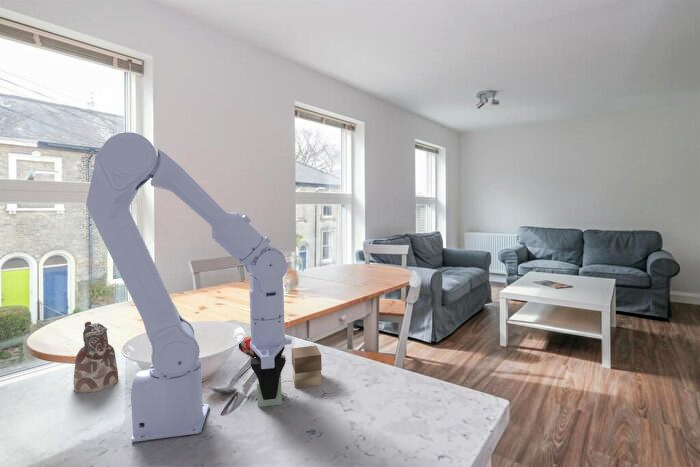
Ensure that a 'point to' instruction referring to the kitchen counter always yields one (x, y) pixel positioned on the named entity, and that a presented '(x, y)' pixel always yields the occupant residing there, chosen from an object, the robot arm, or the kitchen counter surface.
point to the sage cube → (270, 401)
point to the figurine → (95, 361)
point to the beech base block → (307, 378)
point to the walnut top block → (306, 359)
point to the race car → (246, 346)
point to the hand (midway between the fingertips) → (269, 391)
